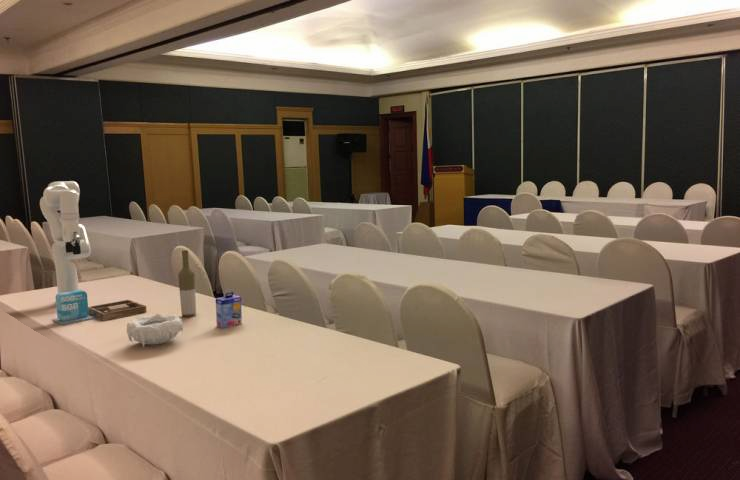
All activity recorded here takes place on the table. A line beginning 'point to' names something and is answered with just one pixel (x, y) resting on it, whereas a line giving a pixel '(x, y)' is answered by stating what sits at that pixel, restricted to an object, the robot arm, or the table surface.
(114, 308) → the offcut stack
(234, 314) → the ink cartridge box
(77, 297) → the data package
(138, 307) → the rack
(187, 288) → the bottle
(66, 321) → the mat
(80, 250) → the robot arm
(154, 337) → the bowl
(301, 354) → the table surface
